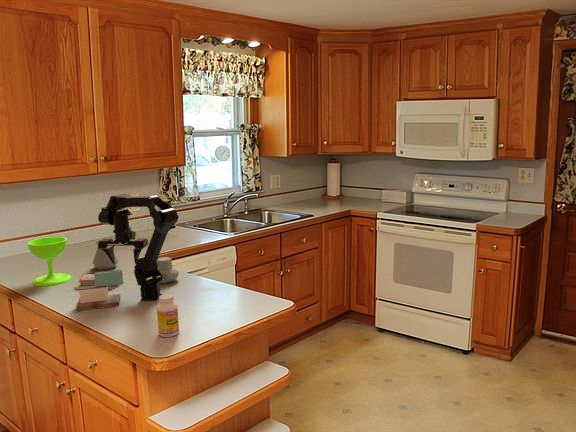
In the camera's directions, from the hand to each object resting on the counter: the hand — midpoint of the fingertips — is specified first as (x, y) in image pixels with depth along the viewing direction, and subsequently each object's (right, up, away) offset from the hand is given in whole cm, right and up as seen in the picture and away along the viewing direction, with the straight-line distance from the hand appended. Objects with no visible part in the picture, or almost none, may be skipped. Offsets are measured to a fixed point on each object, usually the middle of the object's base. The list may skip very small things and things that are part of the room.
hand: (125, 264), depth 219 cm
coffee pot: (-18, -6, +36) cm, 41 cm away
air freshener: (+13, -9, +16) cm, 22 cm away
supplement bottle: (+26, -19, -40) cm, 52 cm away
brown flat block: (-7, -14, -9) cm, 19 cm away
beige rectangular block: (-9, -13, -10) cm, 19 cm away
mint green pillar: (-3, -7, -10) cm, 12 cm away
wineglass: (-39, -9, +22) cm, 46 cm away
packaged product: (-15, -11, +13) cm, 23 cm away
